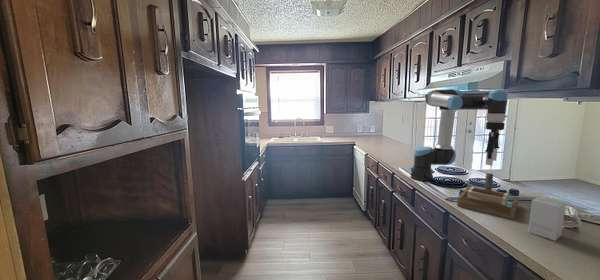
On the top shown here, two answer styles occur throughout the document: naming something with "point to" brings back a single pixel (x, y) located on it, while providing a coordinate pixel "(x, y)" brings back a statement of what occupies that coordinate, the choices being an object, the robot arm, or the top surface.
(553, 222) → the supplement box
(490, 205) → the bay
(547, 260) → the top surface
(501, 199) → the crate
